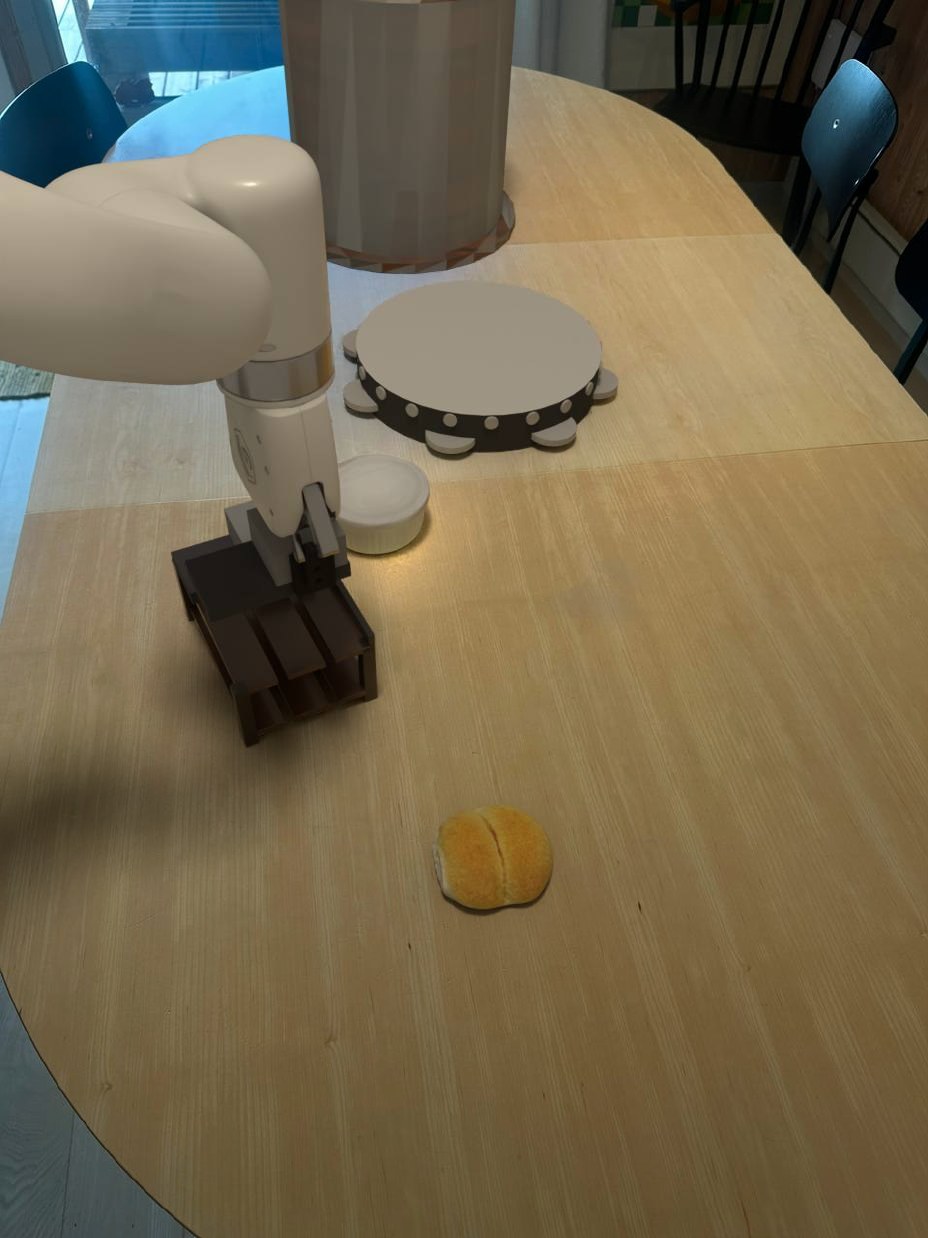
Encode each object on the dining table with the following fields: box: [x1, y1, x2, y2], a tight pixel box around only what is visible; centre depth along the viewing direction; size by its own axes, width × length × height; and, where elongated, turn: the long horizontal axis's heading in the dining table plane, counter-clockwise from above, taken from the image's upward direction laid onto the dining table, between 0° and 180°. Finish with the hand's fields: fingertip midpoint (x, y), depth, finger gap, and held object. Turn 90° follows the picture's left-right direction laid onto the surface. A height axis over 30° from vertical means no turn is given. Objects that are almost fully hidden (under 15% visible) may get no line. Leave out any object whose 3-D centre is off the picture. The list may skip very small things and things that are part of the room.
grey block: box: [170, 499, 256, 605], centre depth 83 cm, size 11×6×4 cm, turn 118°
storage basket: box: [277, 0, 517, 274], centre depth 135 cm, size 35×35×32 cm
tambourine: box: [342, 280, 619, 455], centre depth 116 cm, size 34×33×5 cm
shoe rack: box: [171, 558, 379, 748], centre depth 84 cm, size 12×17×8 cm
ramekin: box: [337, 452, 431, 555], centre depth 98 cm, size 11×11×5 cm
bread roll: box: [432, 803, 554, 910], centre depth 73 cm, size 8×9×4 cm
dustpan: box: [185, 507, 352, 623], centre depth 72 cm, size 11×6×4 cm, turn 118°
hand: (299, 560), depth 74 cm, fingers closed on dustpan, 5 cm apart
